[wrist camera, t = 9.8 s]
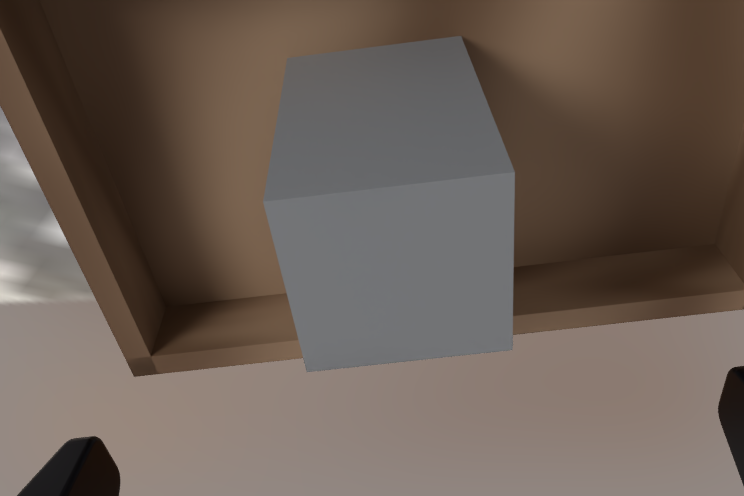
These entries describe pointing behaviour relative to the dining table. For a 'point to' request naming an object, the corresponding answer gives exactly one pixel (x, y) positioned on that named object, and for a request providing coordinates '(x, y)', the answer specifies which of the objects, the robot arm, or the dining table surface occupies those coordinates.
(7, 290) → the dining table surface
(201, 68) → the walnut tray
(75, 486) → the robot arm
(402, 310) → the slate stone block
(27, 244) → the dining table surface
